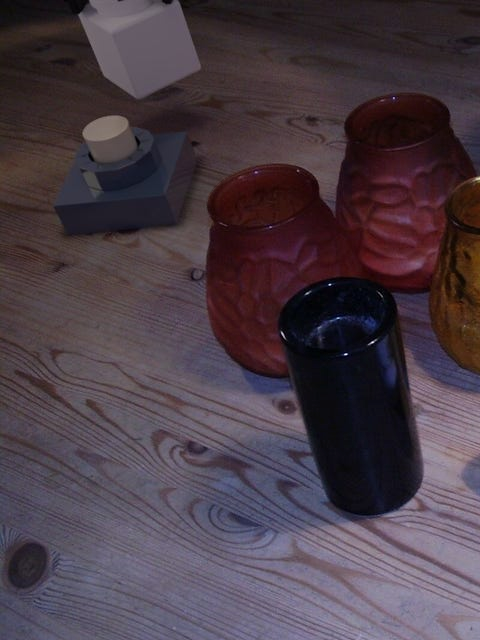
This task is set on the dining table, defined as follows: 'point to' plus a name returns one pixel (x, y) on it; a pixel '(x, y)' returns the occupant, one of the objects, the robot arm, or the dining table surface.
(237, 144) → the dining table surface
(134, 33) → the medicine bottle
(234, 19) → the dining table surface
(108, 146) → the beige cylinder
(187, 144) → the button housing
